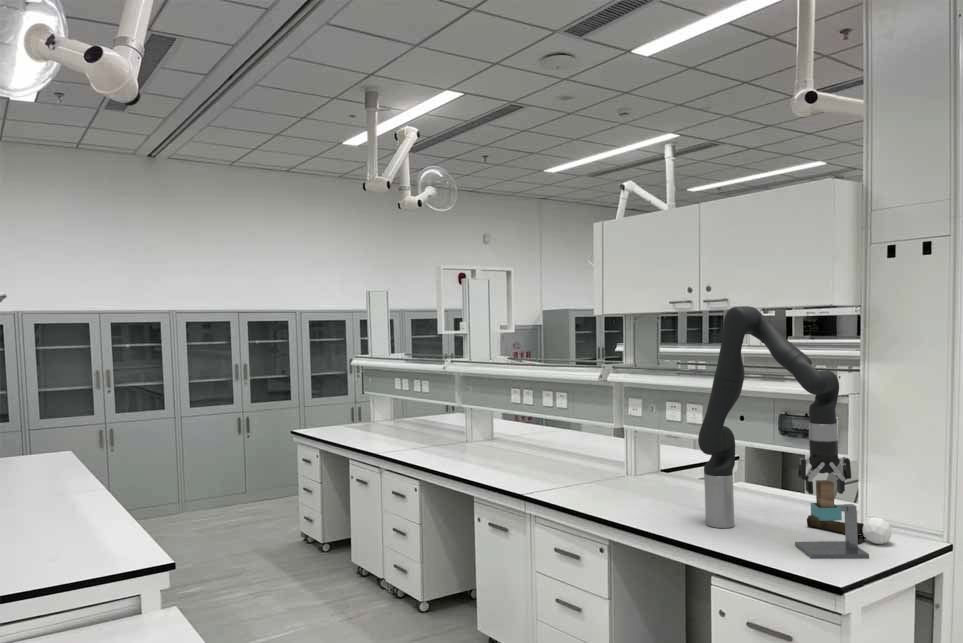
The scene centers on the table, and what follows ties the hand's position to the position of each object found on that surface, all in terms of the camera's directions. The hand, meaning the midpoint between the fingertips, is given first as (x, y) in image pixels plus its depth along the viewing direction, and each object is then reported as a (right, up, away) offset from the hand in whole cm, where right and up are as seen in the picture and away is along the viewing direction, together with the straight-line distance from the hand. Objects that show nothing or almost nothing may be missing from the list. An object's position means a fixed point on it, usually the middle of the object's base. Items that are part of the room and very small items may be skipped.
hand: (825, 493), depth 201 cm
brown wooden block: (0, -6, 0) cm, 6 cm away
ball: (+19, -17, +6) cm, 26 cm away
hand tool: (+14, -17, +19) cm, 29 cm away
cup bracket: (0, -17, 0) cm, 17 cm away
